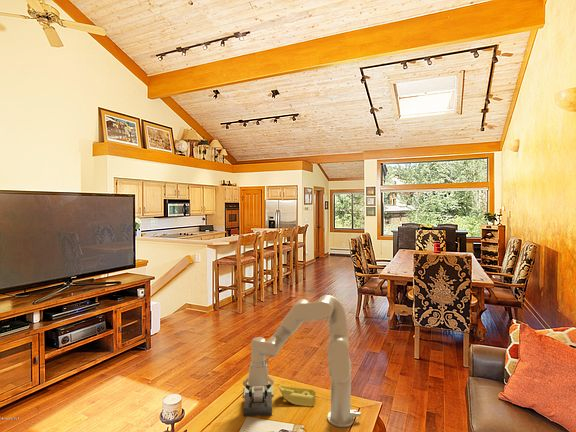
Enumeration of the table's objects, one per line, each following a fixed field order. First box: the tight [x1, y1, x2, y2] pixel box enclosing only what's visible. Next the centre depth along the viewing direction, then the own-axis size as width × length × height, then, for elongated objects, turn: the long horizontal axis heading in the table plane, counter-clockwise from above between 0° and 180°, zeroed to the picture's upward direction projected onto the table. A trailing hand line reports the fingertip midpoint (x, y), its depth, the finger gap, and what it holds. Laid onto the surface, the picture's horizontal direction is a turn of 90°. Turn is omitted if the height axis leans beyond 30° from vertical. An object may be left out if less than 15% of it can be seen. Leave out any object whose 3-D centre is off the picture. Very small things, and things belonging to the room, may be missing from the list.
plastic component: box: [278, 385, 316, 407], centre depth 176 cm, size 20×7×10 cm
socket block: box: [242, 392, 273, 417], centre depth 168 cm, size 14×14×4 cm
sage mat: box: [243, 384, 274, 398], centre depth 183 cm, size 16×10×1 cm, turn 94°
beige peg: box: [253, 386, 263, 403], centre depth 168 cm, size 5×5×10 cm
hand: (258, 397), depth 168 cm, fingers open, 6 cm apart
